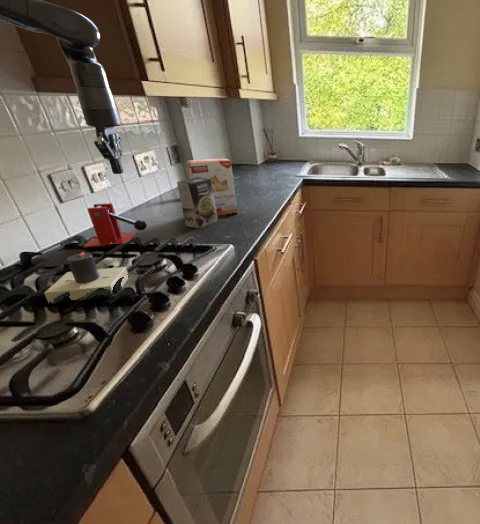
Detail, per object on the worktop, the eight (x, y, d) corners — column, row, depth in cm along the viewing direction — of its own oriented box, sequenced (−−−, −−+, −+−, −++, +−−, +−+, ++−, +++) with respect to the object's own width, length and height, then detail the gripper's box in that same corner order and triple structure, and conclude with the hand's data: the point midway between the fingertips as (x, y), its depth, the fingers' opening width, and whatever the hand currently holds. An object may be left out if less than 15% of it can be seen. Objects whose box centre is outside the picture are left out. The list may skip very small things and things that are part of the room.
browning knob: (95, 281, 74) (87, 258, 72) (71, 284, 73) (62, 260, 70) (102, 273, 78) (94, 250, 76) (80, 275, 77) (71, 252, 74)
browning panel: (49, 305, 71) (43, 292, 69) (71, 283, 79) (66, 271, 78) (114, 297, 74) (110, 285, 73) (129, 277, 83) (125, 266, 81)
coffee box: (200, 230, 114) (190, 183, 107) (185, 227, 116) (175, 181, 109) (219, 222, 122) (211, 178, 115) (205, 220, 124) (196, 176, 117)
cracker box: (200, 219, 124) (189, 162, 115) (197, 215, 128) (186, 159, 119) (238, 214, 132) (230, 159, 123) (234, 210, 136) (226, 157, 127)
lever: (146, 229, 104) (149, 221, 104) (143, 233, 102) (146, 224, 101) (97, 213, 99) (100, 203, 98) (92, 216, 96) (95, 206, 95)
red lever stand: (137, 236, 107) (126, 201, 102) (128, 247, 99) (116, 209, 94) (97, 239, 104) (84, 202, 99) (84, 250, 96) (69, 211, 91)
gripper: (92, 106, 92) (111, 169, 99) (69, 106, 80) (93, 178, 88) (124, 106, 94) (140, 169, 101) (105, 107, 83) (125, 177, 90)
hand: (118, 173), depth 95 cm, fingers closed
